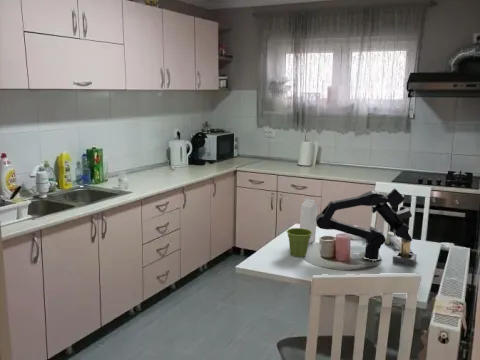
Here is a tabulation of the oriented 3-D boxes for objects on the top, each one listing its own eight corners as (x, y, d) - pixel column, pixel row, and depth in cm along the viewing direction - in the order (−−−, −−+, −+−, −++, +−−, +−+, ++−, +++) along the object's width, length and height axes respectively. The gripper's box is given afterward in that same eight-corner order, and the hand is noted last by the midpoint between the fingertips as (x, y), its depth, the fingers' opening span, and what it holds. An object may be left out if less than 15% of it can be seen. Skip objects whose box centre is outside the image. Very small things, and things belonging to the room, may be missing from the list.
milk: (308, 243, 237) (311, 201, 232) (298, 241, 241) (301, 199, 236) (315, 241, 241) (318, 199, 237) (305, 238, 245) (308, 197, 241)
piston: (403, 264, 214) (406, 237, 212) (397, 261, 218) (399, 235, 216) (410, 263, 216) (413, 236, 214) (404, 260, 220) (406, 234, 217)
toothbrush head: (405, 251, 220) (384, 228, 243) (403, 264, 222) (382, 240, 245) (416, 251, 220) (393, 228, 244) (413, 264, 222) (391, 240, 246)
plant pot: (291, 248, 228) (293, 226, 226) (314, 253, 223) (316, 230, 220) (280, 255, 218) (282, 232, 216) (304, 261, 213) (306, 237, 210)
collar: (413, 266, 211) (413, 260, 210) (392, 262, 215) (393, 256, 214) (415, 260, 219) (416, 254, 218) (396, 256, 223) (396, 250, 222)
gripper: (406, 207, 203) (429, 233, 204) (397, 197, 221) (419, 222, 222) (385, 223, 205) (409, 249, 206) (378, 212, 223) (400, 236, 224)
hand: (409, 238), depth 214 cm, fingers open, 5 cm apart
